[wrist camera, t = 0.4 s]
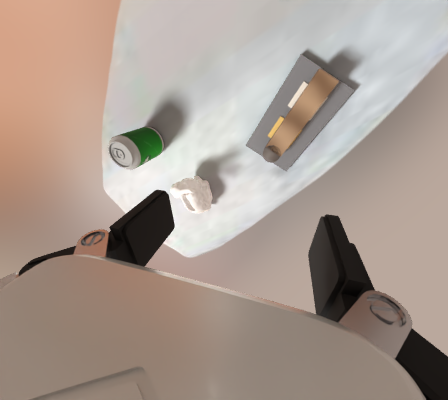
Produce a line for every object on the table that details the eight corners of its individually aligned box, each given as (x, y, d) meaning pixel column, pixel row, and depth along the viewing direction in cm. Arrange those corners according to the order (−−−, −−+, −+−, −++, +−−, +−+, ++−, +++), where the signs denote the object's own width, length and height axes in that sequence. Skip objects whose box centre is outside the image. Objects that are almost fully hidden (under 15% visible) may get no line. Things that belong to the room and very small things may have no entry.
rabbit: (181, 174, 52) (156, 195, 42) (208, 164, 47) (188, 185, 38) (200, 208, 56) (183, 234, 47) (227, 201, 52) (213, 228, 42)
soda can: (139, 123, 47) (100, 133, 37) (165, 128, 45) (132, 141, 36) (143, 151, 51) (109, 167, 41) (167, 157, 50) (138, 174, 40)
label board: (300, 54, 31) (301, 53, 29) (352, 90, 32) (357, 90, 30) (246, 144, 42) (244, 147, 40) (286, 169, 42) (286, 173, 40)
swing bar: (318, 69, 30) (320, 68, 28) (336, 81, 30) (339, 81, 28) (260, 153, 40) (259, 156, 38) (274, 162, 40) (273, 165, 38)
